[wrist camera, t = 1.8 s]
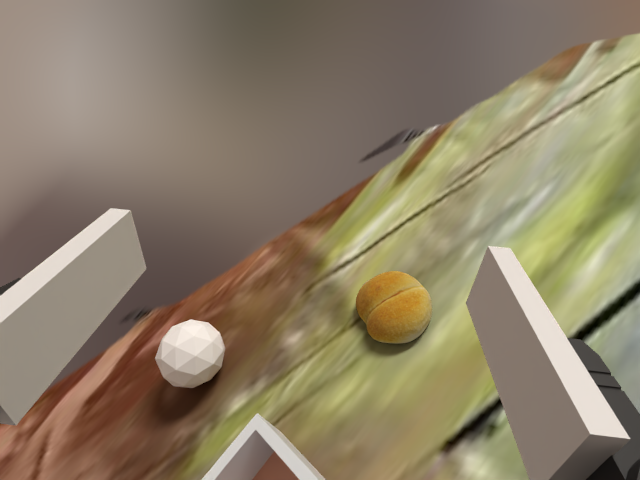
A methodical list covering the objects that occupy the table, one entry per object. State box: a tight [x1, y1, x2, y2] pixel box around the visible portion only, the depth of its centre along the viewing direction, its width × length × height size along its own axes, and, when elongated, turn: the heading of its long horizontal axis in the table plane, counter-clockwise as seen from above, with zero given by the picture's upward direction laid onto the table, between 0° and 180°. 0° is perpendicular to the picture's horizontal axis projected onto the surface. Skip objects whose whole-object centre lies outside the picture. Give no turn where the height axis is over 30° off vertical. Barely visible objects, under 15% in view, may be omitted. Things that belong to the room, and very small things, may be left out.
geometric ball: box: [155, 320, 225, 388], centre depth 42 cm, size 8×8×8 cm
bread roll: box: [356, 271, 432, 343], centre depth 40 cm, size 8×9×4 cm
